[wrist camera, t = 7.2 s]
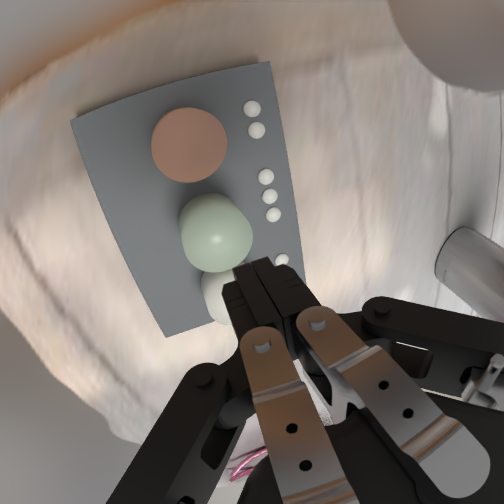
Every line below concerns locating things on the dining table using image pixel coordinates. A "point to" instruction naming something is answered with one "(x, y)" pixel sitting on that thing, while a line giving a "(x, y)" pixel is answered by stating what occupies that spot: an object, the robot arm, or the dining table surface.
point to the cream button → (217, 293)
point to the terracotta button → (188, 144)
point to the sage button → (214, 233)
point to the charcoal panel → (191, 183)
